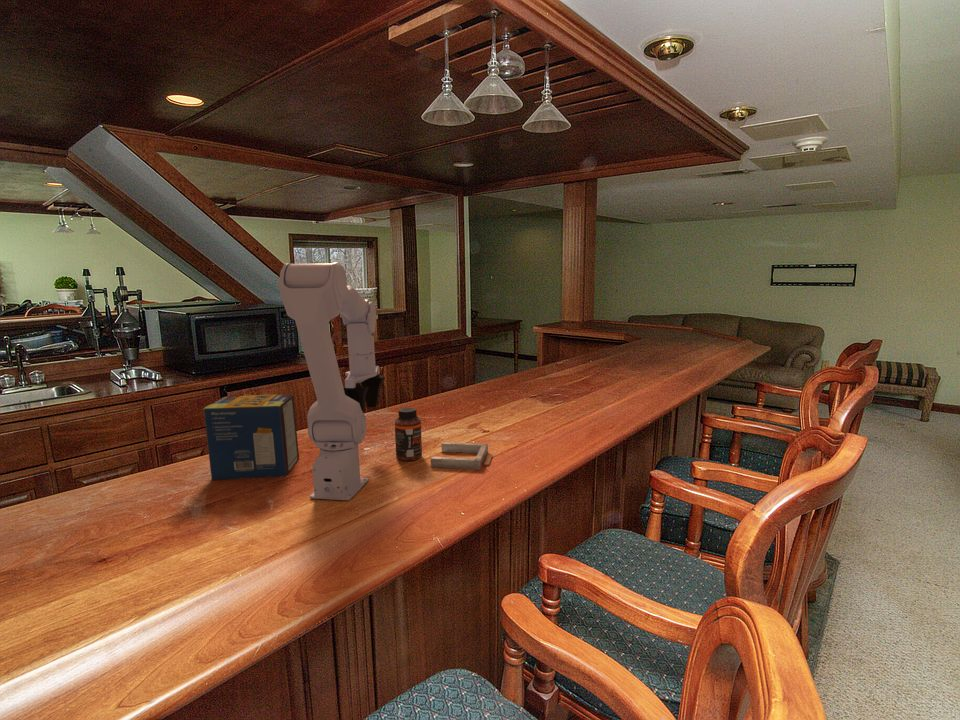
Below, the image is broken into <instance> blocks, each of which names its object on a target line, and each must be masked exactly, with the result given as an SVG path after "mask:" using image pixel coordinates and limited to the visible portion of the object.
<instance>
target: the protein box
mask: <svg viewBox="0 0 960 720" xmlns="http://www.w3.org/2000/svg"><path fill="white" fill-rule="evenodd" d="M202 410H203V415H204V424H205V433H206V441H207V442H206V443H207V451H208V459H209V467H210V477H211V481H218V480H221V481H222V480H238V479H239V480H240V478H243V479H257V478H258V479H259V478H260V477H262V478H279V477H280V476H282V477H286V476H287V475H288V474H289V473H290V472H291V470H292V469H293V468H294V466H295V465H296V464H297V462H298V460H300V453H299V443H298V432H297V421H296V411H295V400H294V394H293V393H282V394H281V393H280V394H260V395H259V394H254V395H235V396H234V395H233V396H232V395H231V396H229V395H228V396H222V397H221V398H219V399H217V400H216V401H214V402H213V403H211V404H209V405H207V406H205V407H204V408H203V409H202Z"/></svg>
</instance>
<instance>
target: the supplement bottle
mask: <svg viewBox="0 0 960 720" xmlns="http://www.w3.org/2000/svg"><path fill="white" fill-rule="evenodd" d="M417 414H418V413H417V408H415V407H402V408H399V409H398V417H397V418H396V419H395V420H394V440H395V457H396V459H398V460H399V461H400V460H401V461H403V462H411V461H416V460H418V459H420V458H421V457H422V455H423V451H422V450H423V447H422V445H423V444H422V442H423V441H422V420H421V419H420V418H419V417H418V415H417Z"/></svg>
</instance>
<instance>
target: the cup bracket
mask: <svg viewBox="0 0 960 720" xmlns="http://www.w3.org/2000/svg"><path fill="white" fill-rule="evenodd" d="M440 445H441V453H456V452H465V453H464V454H476V456H475V457H469V458H468V457H448V456H431V457H430V468H434V467H444V468H443V469H455V468H459V469H460V470H461V469H462V470H479V471H480V470H481V468H482V466H488V467H489V466H490V464H491V462H492V459H493V456H494V455H493V454H488V453H489V451H488V450H489V446H488V445H489V444H488V443H479V442H477V443H474V442H472V443H471V442H454V441H453V442H451V441H442V442H441V444H440Z"/></svg>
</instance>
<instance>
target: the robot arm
mask: <svg viewBox="0 0 960 720" xmlns="http://www.w3.org/2000/svg"><path fill="white" fill-rule="evenodd" d="M278 288H279V293H280V296H281V299H282V304H283V306H284V309H285V313H286V315H287V317H289V318H290V319H291V320H294V321H295V325H296V329H297V333H298V336H299V341H300V343H301V346H302V347H301V348H302V351H303V353H304V358H305V361H306V364H307V368H308V371H309V376H310V379H311V383H312V386H313V390H314V393H315V397H316V401H315V402H313V403H312V405H311V406H310V407H309V409H308V411H307V415H306V420H307V433H308V437H309V439H310V440H311V442H312V443H313V444H315V446H316V449H319V453H318V456H317V457H316V458H315V460H314V461H313V464H312V466H311V467H312V469H311V470H312V481H313V482H312V483H313V492H312V493H311V494H310V495H309V499H317V500H320V499H321V500H334V501H335V500H336V501H337V500H338V501H350V500H351V499H352V498H354V496H355V495H356V494H357V493H358V492H359V491H360V490H361V488H363V487H364V486H365V485H366V484H367V483H368V482H369V478H368V477H361V467H360V450H359V444H361V443H362V442H363V441H364V440H365V438H366V434H367V418H366V415H365V406H367V408H376V407H377V405H378V401H379V395H380V391H381V387H382V385H383V383H384V380H385V376H384V375H380V372H381V371H380V366H379V365H376V355H375V353H376V352H375V338H374V335H375V334H374V333H375V332H376V318H377V310H376V309H377V308H376V305H375V303H374V301H371V300H370V299H365V297H363V296H362V295H361V293H360V292H358V290H357V289H356V288H355V287H354V285H351V284H348V277H347V273H346V269H345V268H344V266H343V265H342V264H341V263H340V262H337V261H334V262H330V263H329V262H324V263H323V262H321V263H291V262H287V263H285V264H283V266H282V268H281V270H280V273H279V280H278ZM339 315H340V317H341V321H342V324H343V326H346V333H347V334H346V335H347V349H348V350H347V351H348V364H349V365H348V366H349V370H348V371H346V372H344V373H345V377H346V378H345V379H344V385H343V381H342V380H343V379H342V376H341V371H340V368H339V364H338V360H337V359H338V358H337V355H336V353H335V348H334V343H333V340H332V339H333V338H332V335H331V331H330V327H329V322H330V321H331V320H333V319H335V318H336V317H338V316H339Z"/></svg>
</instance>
